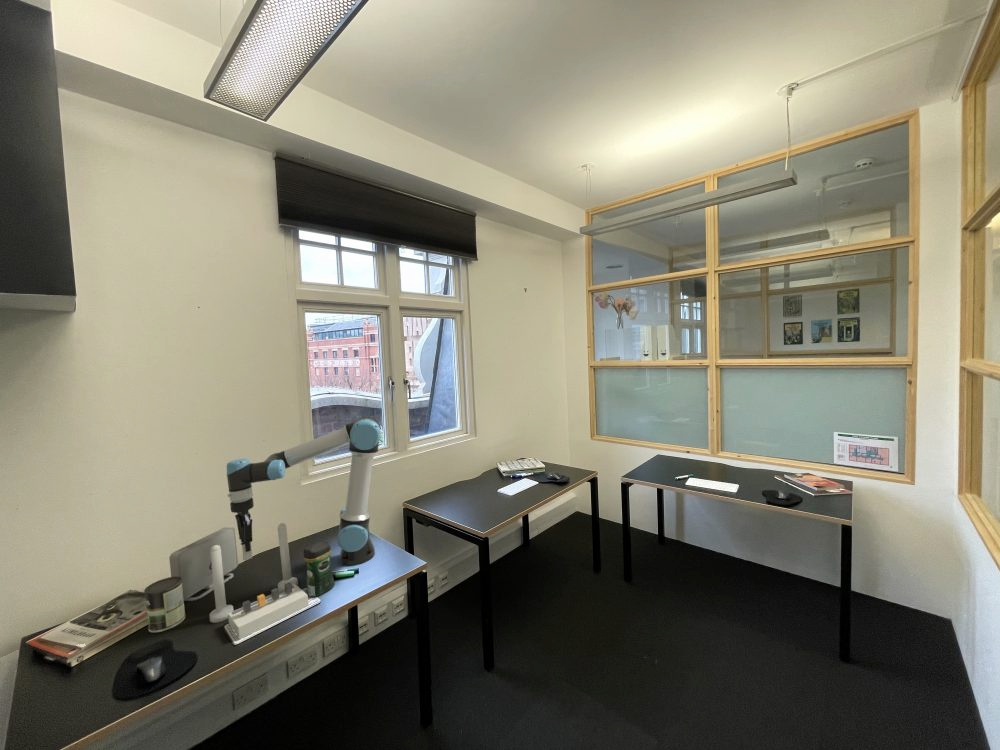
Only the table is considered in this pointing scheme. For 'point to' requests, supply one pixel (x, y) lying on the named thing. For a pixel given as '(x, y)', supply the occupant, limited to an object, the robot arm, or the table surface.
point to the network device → (203, 562)
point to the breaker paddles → (262, 601)
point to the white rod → (285, 558)
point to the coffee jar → (318, 568)
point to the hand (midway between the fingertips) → (247, 558)
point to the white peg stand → (218, 587)
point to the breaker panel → (267, 612)
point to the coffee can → (164, 604)
